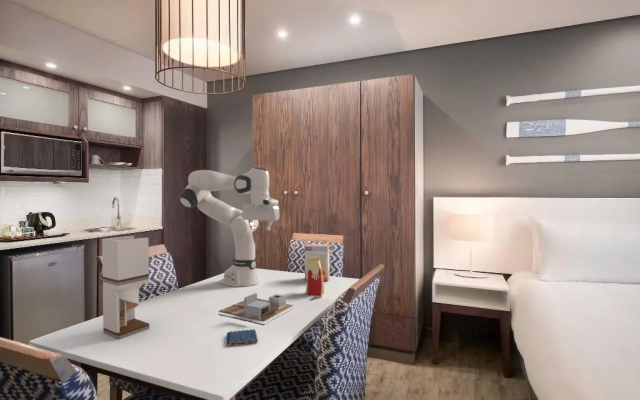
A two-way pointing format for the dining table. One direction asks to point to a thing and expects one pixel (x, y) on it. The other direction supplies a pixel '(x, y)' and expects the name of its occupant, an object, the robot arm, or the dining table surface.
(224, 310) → the base
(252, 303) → the cover
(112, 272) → the coffee grinder
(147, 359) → the dining table surface
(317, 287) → the milk carton
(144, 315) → the dining table surface
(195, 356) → the dining table surface
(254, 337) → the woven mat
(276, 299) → the block
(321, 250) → the cracker box
